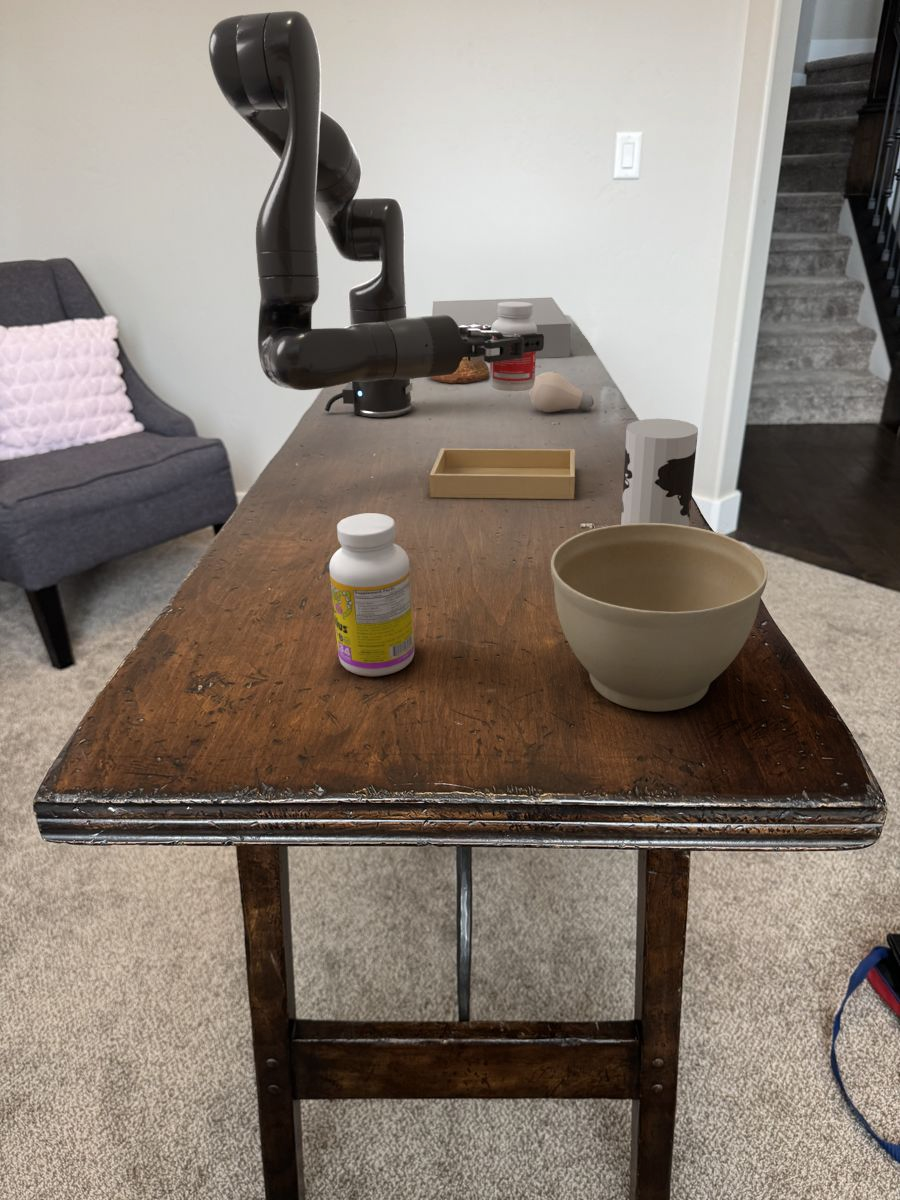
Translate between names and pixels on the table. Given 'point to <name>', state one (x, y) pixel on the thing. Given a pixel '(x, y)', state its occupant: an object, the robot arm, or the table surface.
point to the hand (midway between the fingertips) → (528, 337)
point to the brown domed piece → (466, 372)
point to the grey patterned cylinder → (659, 471)
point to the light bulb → (557, 394)
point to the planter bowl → (656, 609)
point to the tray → (504, 473)
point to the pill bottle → (514, 370)
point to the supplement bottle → (371, 597)
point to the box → (543, 316)
